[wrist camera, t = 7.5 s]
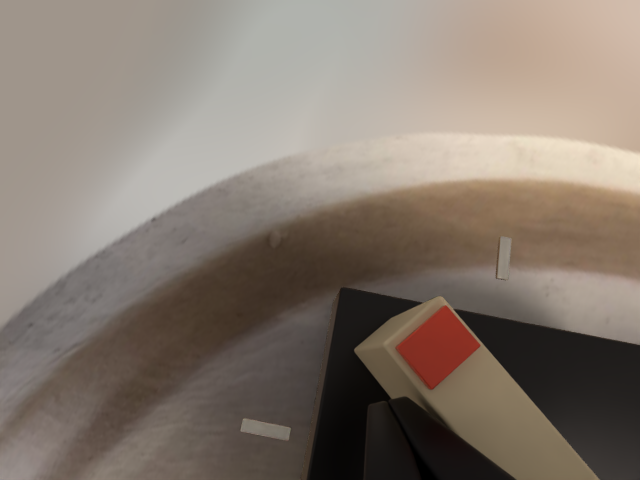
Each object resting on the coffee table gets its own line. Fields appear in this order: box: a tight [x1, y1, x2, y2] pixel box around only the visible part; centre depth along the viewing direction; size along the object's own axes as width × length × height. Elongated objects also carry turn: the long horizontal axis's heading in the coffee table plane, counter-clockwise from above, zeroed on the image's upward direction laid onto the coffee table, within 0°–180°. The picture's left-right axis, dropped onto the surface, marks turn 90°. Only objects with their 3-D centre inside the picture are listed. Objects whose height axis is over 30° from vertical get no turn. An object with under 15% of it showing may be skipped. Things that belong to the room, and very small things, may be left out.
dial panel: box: [240, 236, 640, 480], centre depth 14 cm, size 14×14×4 cm
